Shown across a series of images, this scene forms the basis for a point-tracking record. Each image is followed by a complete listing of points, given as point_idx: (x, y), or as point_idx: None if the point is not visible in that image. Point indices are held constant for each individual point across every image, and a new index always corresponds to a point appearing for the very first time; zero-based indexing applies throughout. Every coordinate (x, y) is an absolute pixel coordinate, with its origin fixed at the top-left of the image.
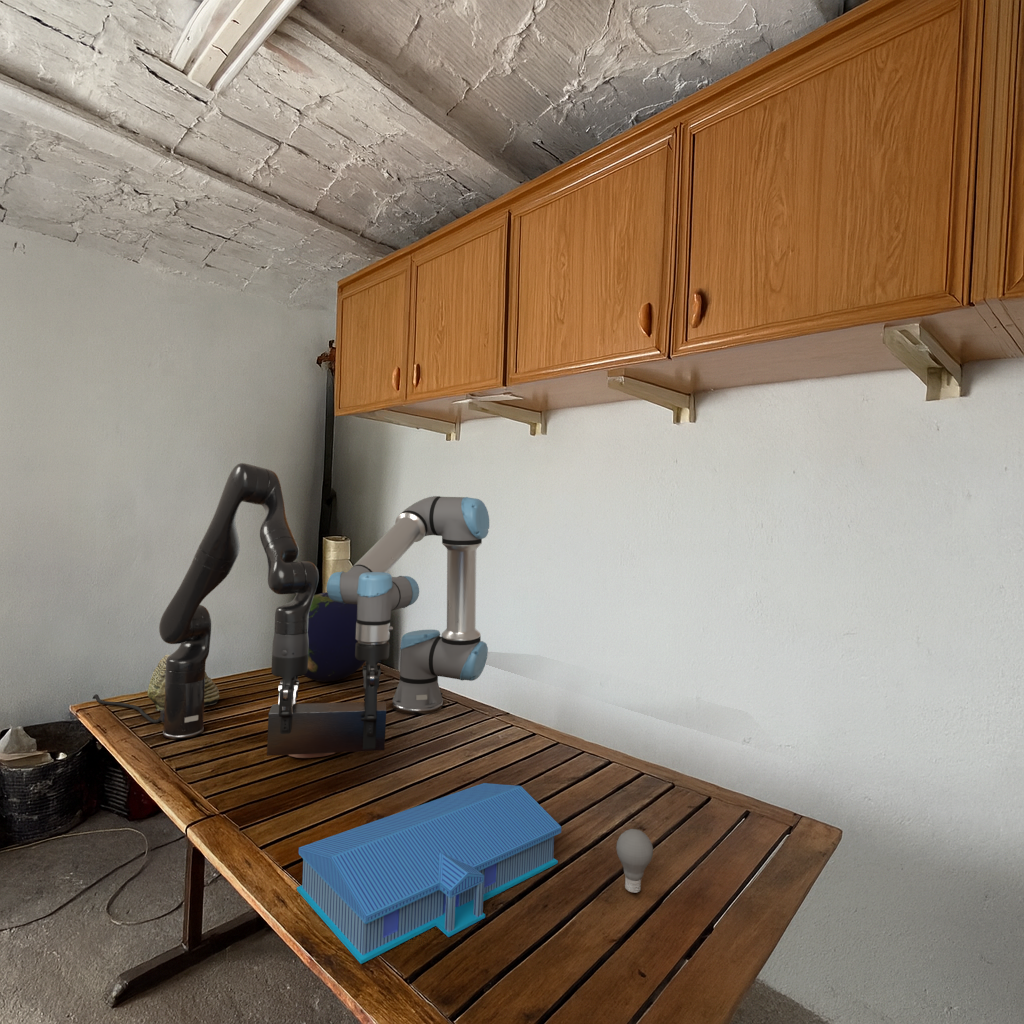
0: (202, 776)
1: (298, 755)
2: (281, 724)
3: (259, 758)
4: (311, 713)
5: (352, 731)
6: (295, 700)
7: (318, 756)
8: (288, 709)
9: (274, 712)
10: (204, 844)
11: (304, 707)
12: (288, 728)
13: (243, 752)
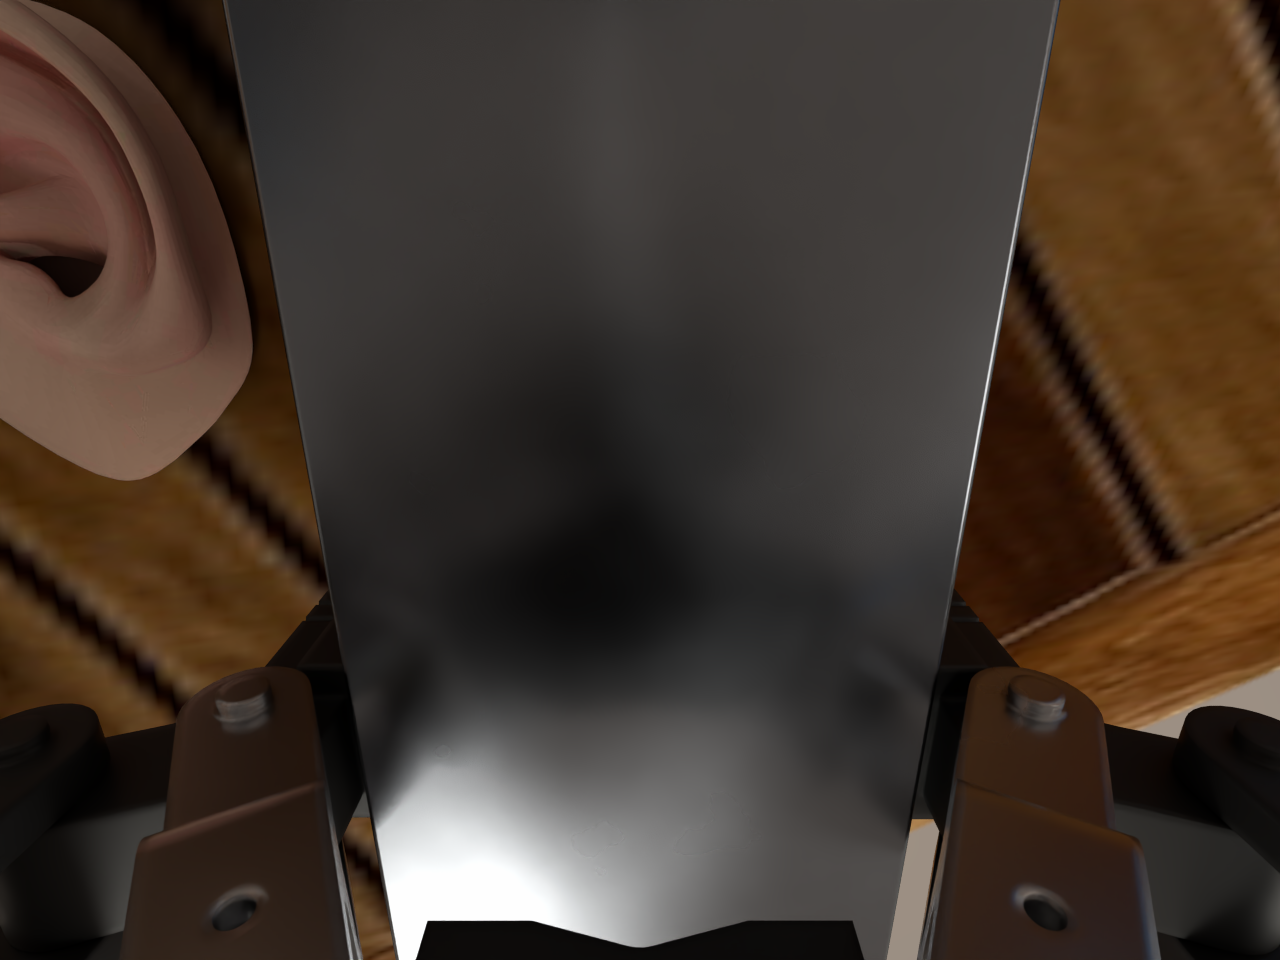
0: None
1: (233, 357)
2: None
3: (260, 595)
4: (995, 294)
5: None
6: (1048, 875)
7: (213, 196)
8: (708, 769)
9: None
10: (1249, 681)
11: (605, 492)
12: (953, 595)
13: (175, 691)
